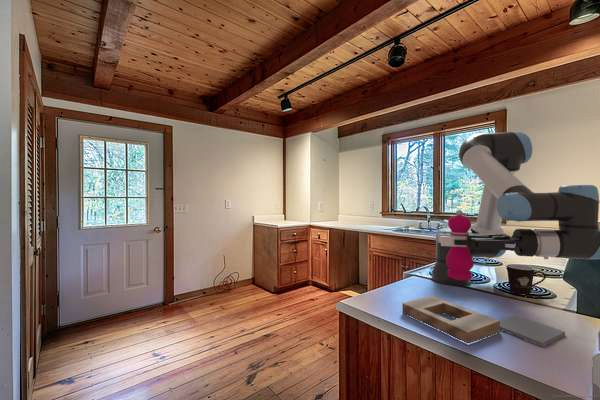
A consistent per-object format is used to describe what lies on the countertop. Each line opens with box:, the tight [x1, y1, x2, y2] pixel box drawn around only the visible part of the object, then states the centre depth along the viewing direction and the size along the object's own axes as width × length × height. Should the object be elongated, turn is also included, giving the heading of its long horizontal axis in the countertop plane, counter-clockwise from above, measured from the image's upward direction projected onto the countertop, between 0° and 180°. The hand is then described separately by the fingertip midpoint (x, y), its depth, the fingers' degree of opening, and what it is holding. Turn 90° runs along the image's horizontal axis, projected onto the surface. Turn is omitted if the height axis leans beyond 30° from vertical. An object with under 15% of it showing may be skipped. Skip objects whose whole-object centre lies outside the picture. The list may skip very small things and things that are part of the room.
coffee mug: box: [506, 263, 547, 295], centre depth 109 cm, size 12×9×10 cm
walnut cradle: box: [401, 295, 501, 343], centre depth 86 cm, size 22×14×4 cm, turn 26°
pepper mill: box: [446, 209, 475, 281], centre depth 84 cm, size 7×7×20 cm
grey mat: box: [499, 314, 566, 347], centre depth 80 cm, size 12×12×1 cm
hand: (439, 239), depth 85 cm, fingers closed on pepper mill, 5 cm apart
